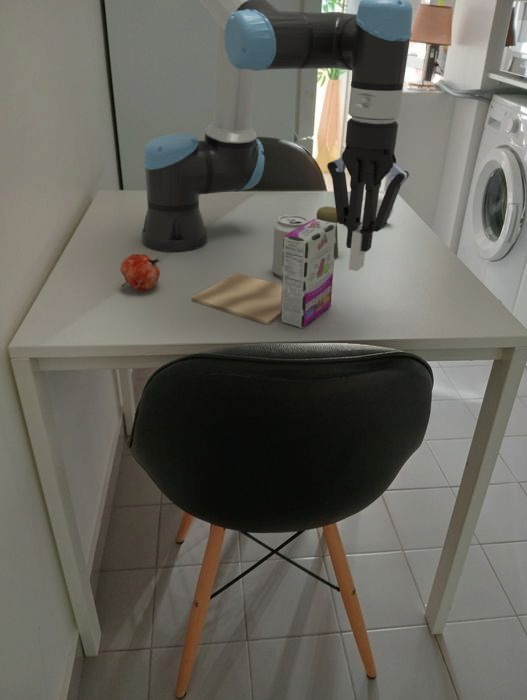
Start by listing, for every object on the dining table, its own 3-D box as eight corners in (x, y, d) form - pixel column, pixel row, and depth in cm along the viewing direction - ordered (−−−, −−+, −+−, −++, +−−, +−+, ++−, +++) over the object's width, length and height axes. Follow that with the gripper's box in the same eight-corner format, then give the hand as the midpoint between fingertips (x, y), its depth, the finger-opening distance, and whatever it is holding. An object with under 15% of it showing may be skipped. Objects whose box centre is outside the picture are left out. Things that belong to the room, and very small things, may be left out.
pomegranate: (121, 306, 117) (157, 282, 113) (100, 273, 116) (136, 248, 112) (141, 295, 124) (176, 272, 119) (122, 264, 123) (156, 240, 118)
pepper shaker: (337, 261, 135) (341, 213, 129) (310, 258, 136) (313, 210, 130) (339, 252, 140) (344, 205, 135) (313, 249, 141) (317, 202, 135)
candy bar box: (307, 300, 117) (313, 217, 109) (331, 307, 114) (339, 222, 106) (278, 322, 108) (282, 234, 100) (302, 330, 106) (309, 240, 98)
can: (283, 283, 124) (286, 226, 118) (266, 270, 129) (268, 215, 123) (314, 277, 127) (319, 221, 121) (296, 265, 132) (299, 211, 126)
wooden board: (191, 300, 115) (191, 297, 115) (236, 275, 126) (236, 272, 126) (267, 324, 107) (267, 321, 107) (308, 295, 119) (308, 293, 118)
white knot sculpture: (372, 235, 151) (377, 200, 146) (332, 224, 158) (335, 190, 153) (395, 225, 159) (400, 191, 154) (356, 215, 165) (360, 182, 161)
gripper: (322, 116, 90) (311, 265, 102) (405, 127, 84) (383, 284, 96) (344, 111, 96) (331, 252, 108) (424, 120, 90) (401, 269, 102)
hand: (356, 267), depth 102 cm, fingers closed
